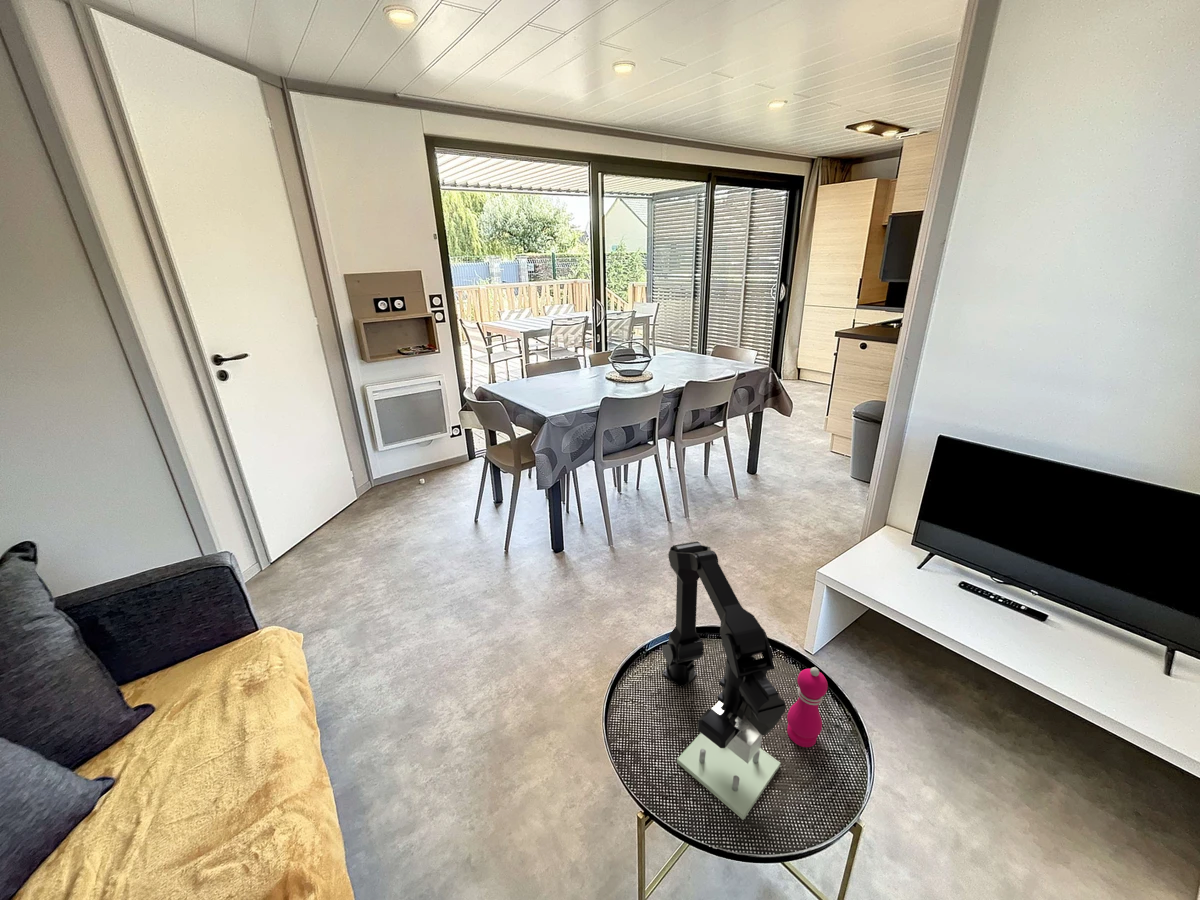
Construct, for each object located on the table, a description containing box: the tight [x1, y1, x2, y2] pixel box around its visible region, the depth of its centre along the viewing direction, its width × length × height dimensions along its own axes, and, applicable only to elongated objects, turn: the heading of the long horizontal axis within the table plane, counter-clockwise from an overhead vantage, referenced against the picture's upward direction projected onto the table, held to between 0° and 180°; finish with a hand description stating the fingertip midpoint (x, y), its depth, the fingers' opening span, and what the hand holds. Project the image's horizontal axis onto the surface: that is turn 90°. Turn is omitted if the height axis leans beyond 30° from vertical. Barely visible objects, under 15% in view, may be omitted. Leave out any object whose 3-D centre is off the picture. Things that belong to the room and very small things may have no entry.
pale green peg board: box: [676, 732, 781, 821], centre depth 102 cm, size 16×15×4 cm
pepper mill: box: [786, 666, 829, 748], centre depth 105 cm, size 7×7×20 cm
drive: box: [711, 700, 764, 764], centre depth 99 cm, size 10×5×5 cm, turn 44°
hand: (731, 734), depth 100 cm, fingers closed on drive, 5 cm apart
